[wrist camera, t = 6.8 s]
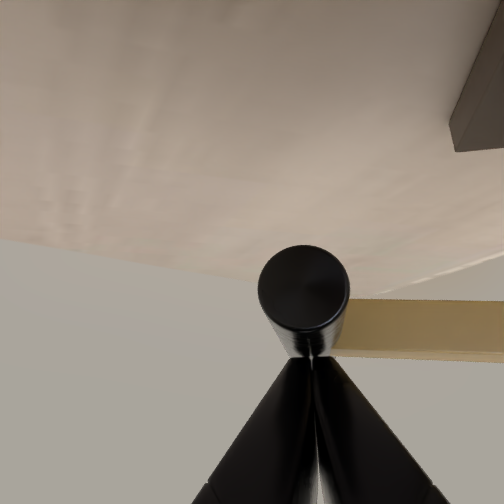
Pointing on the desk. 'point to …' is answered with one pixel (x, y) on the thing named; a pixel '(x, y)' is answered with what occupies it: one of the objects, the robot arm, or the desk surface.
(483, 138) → the lock bracket
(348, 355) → the lever
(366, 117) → the desk surface
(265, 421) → the robot arm
